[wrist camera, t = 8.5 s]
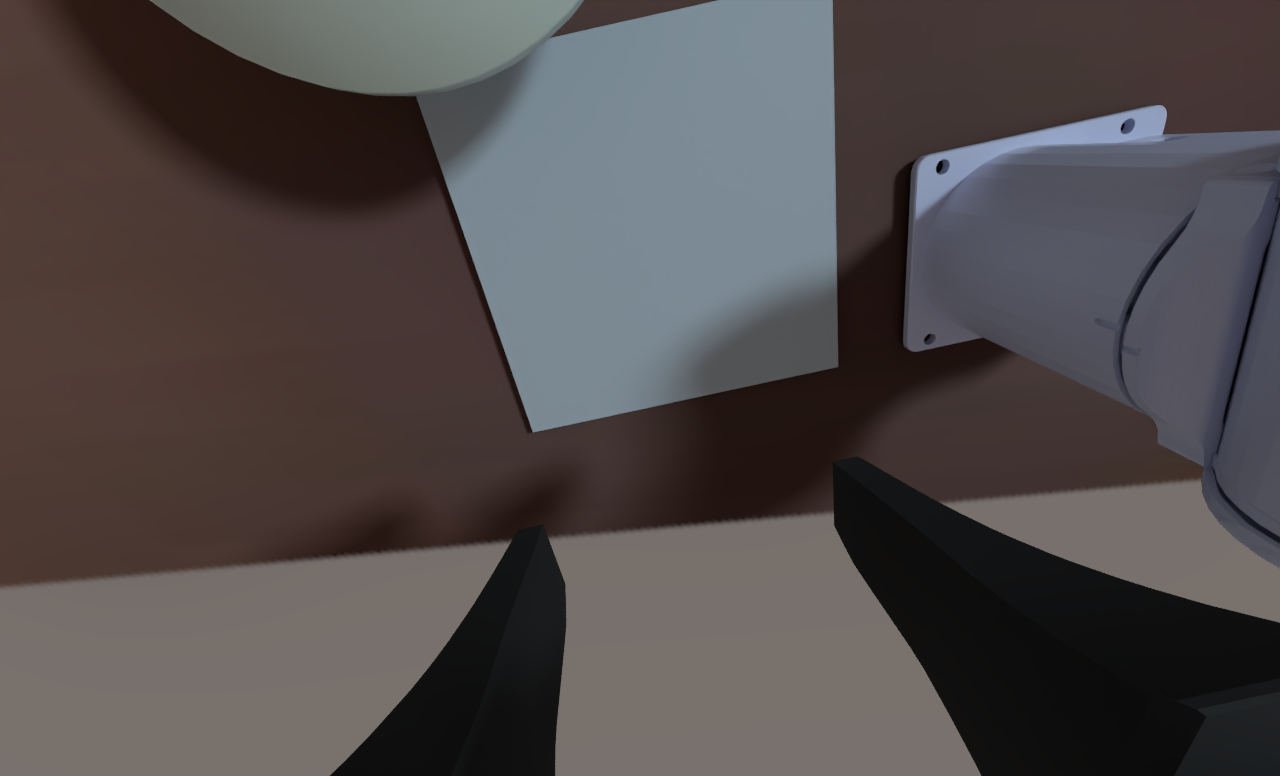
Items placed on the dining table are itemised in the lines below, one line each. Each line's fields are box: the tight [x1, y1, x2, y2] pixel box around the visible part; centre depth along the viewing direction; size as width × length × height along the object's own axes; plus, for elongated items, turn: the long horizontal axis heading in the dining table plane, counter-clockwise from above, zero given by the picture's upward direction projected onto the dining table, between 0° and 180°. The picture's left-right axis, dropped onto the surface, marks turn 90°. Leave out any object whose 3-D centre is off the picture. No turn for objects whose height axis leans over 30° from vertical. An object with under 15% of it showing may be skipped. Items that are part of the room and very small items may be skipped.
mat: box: [416, 0, 838, 432], centre depth 19 cm, size 14×14×1 cm
